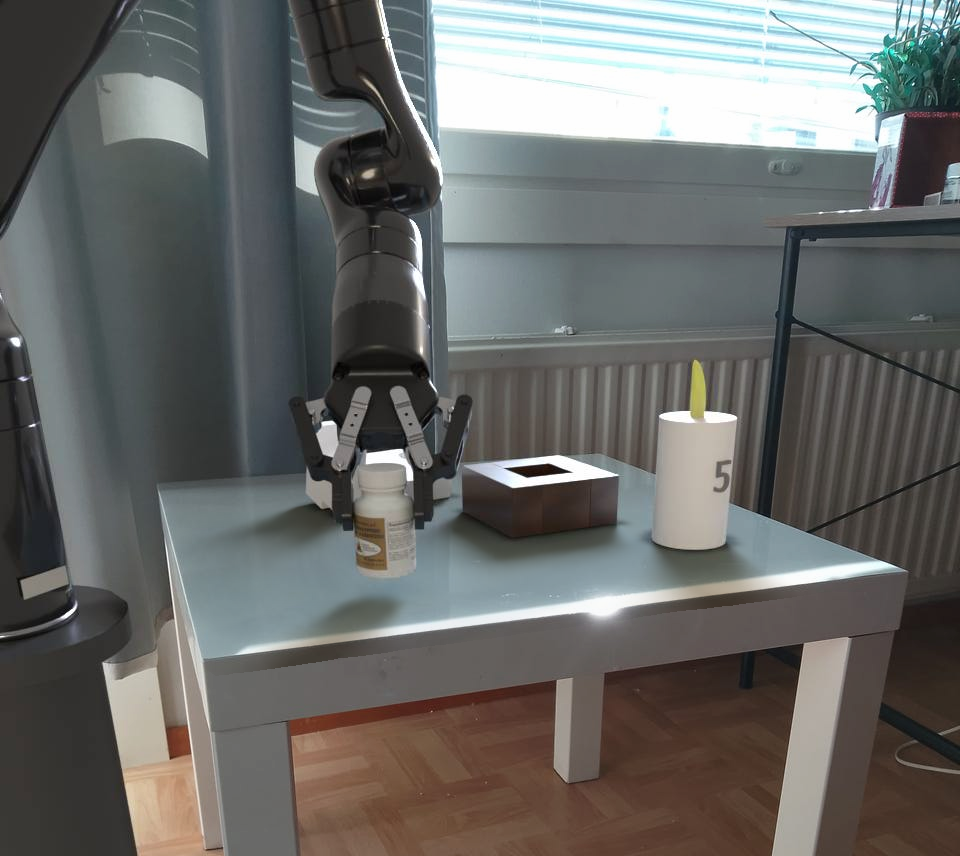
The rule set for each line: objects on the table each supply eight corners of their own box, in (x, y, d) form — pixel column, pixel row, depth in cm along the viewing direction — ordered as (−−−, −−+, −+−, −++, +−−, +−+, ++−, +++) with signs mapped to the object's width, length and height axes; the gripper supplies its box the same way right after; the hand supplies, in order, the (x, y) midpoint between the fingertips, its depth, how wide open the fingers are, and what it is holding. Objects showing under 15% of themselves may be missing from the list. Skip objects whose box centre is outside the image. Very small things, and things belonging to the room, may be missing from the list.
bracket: (337, 524, 90) (342, 452, 86) (305, 493, 95) (308, 423, 90) (449, 505, 97) (458, 437, 93) (414, 476, 102) (421, 410, 97)
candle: (690, 554, 77) (705, 366, 71) (636, 537, 82) (646, 359, 76) (743, 542, 80) (761, 360, 74) (688, 526, 85) (701, 355, 79)
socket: (512, 538, 82) (512, 487, 80) (462, 511, 91) (461, 465, 89) (617, 523, 86) (619, 475, 84) (559, 499, 95) (560, 455, 94)
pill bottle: (345, 570, 69) (338, 466, 66) (393, 558, 71) (389, 458, 68) (378, 584, 66) (373, 476, 63) (428, 572, 68) (425, 467, 65)
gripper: (279, 297, 68) (272, 499, 61) (474, 296, 69) (488, 494, 62) (294, 365, 75) (288, 553, 68) (470, 363, 76) (482, 548, 69)
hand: (383, 523), depth 65 cm, fingers closed on pill bottle, 4 cm apart
